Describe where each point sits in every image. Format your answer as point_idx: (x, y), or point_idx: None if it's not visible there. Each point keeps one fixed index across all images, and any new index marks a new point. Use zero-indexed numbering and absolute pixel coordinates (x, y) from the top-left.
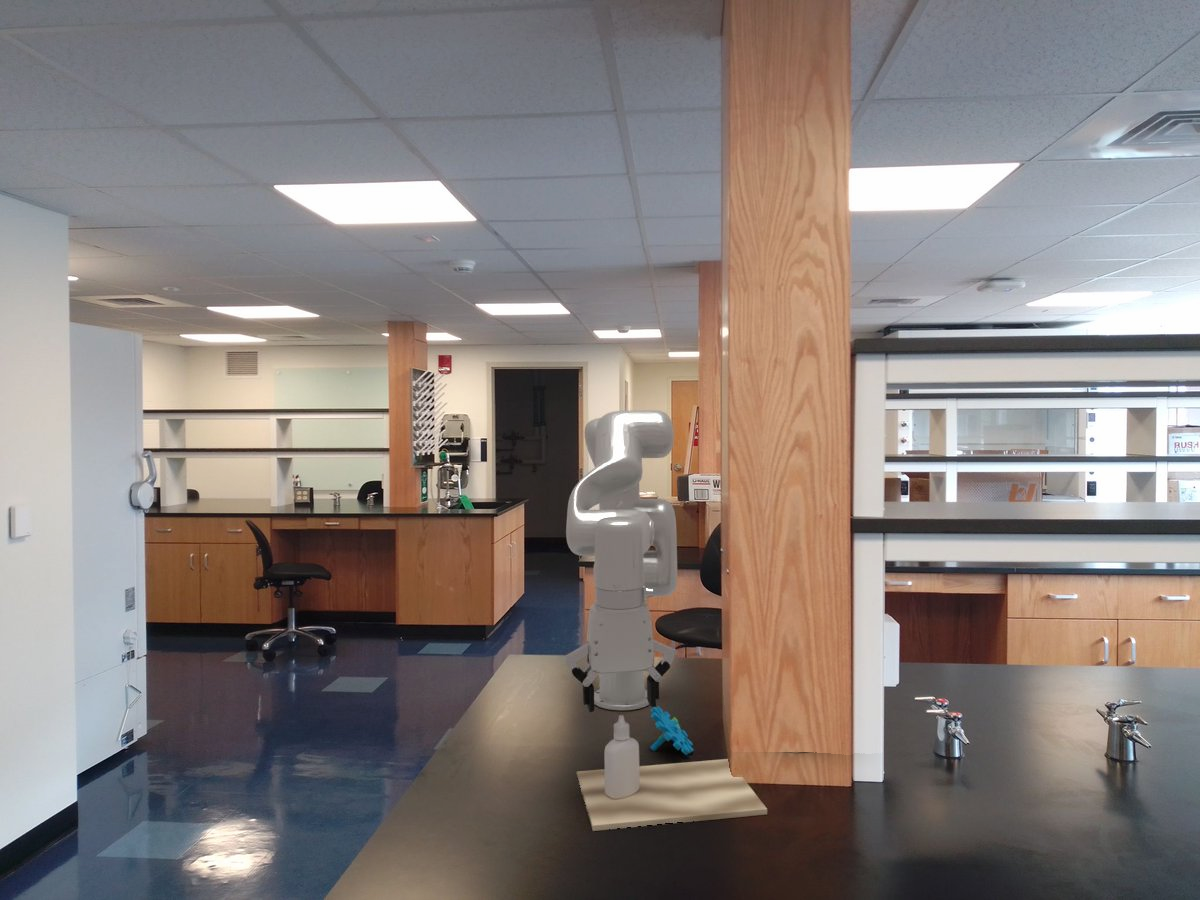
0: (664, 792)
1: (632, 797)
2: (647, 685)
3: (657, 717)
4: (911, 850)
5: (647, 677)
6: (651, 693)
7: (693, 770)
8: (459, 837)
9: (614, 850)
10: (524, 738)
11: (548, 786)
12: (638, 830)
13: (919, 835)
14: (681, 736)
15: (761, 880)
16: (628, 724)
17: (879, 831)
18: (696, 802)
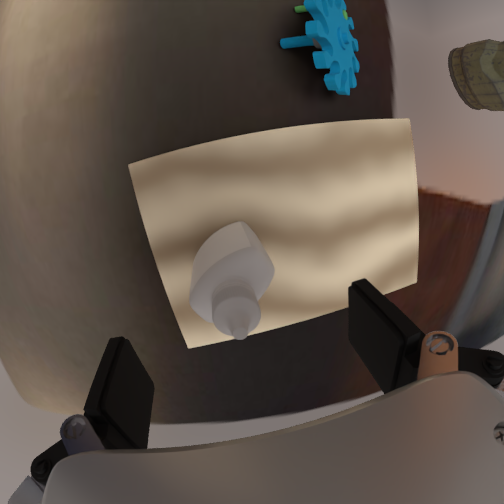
0: (299, 244)
1: None
2: (378, 324)
3: (321, 36)
4: (470, 320)
5: (398, 348)
6: (370, 370)
7: (356, 156)
8: (45, 351)
9: (222, 376)
10: (42, 32)
11: (89, 211)
12: (252, 336)
13: (484, 297)
14: (349, 47)
15: (360, 389)
16: (259, 315)
17: (470, 296)
18: (343, 274)
